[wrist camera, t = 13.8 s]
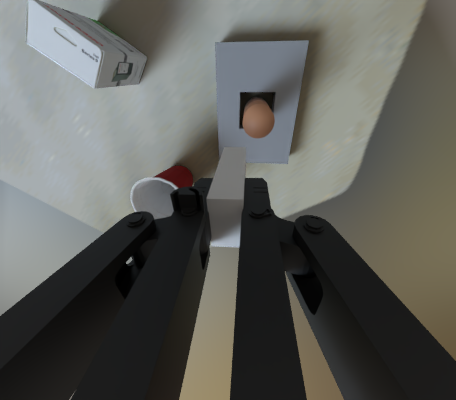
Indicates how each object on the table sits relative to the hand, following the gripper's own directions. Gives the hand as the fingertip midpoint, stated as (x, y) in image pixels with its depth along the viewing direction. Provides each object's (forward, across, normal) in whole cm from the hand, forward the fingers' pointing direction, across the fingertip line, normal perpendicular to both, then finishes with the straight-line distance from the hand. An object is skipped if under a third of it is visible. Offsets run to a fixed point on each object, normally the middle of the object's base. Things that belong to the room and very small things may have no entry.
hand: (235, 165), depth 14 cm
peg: (+25, +2, 0) cm, 25 cm away
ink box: (+25, -21, +9) cm, 34 cm away
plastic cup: (+25, -14, -13) cm, 32 cm away
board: (+25, +2, 0) cm, 25 cm away
